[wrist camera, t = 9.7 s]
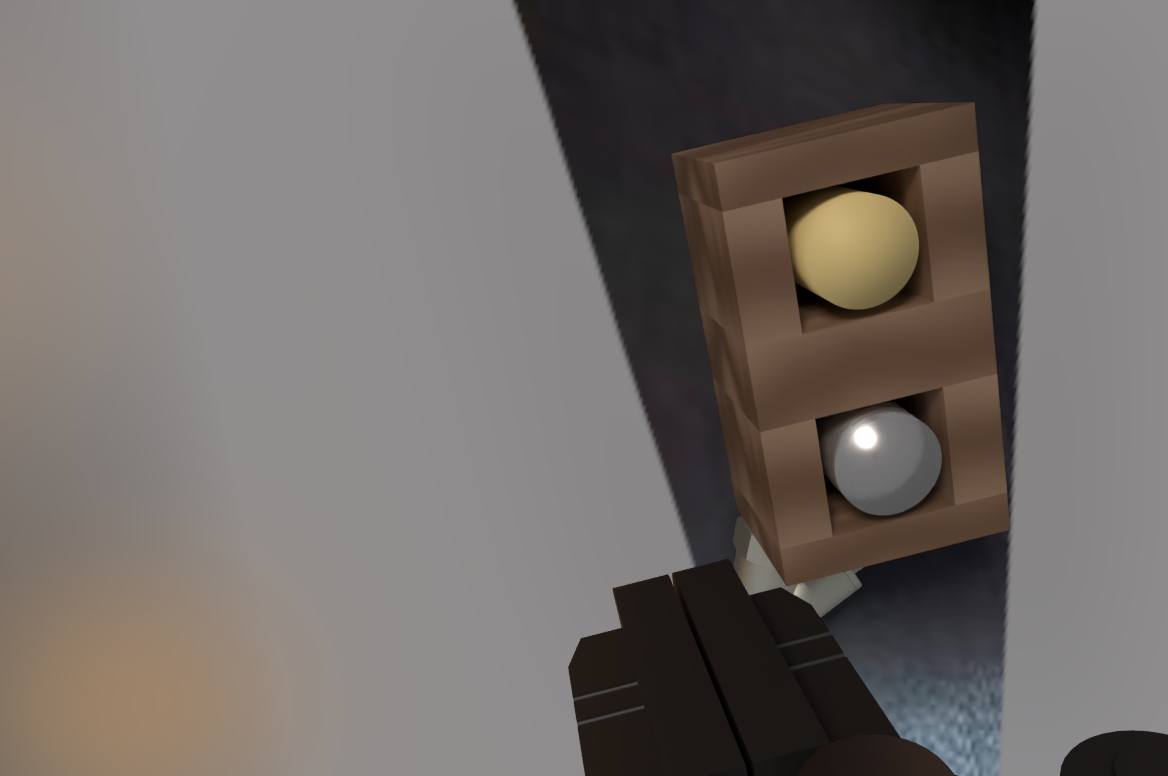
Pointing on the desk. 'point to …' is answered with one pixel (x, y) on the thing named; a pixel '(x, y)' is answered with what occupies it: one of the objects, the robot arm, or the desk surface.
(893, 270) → the mustard peg
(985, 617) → the desk surface
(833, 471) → the steel peg
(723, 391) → the socket block
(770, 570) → the pipe fitting
